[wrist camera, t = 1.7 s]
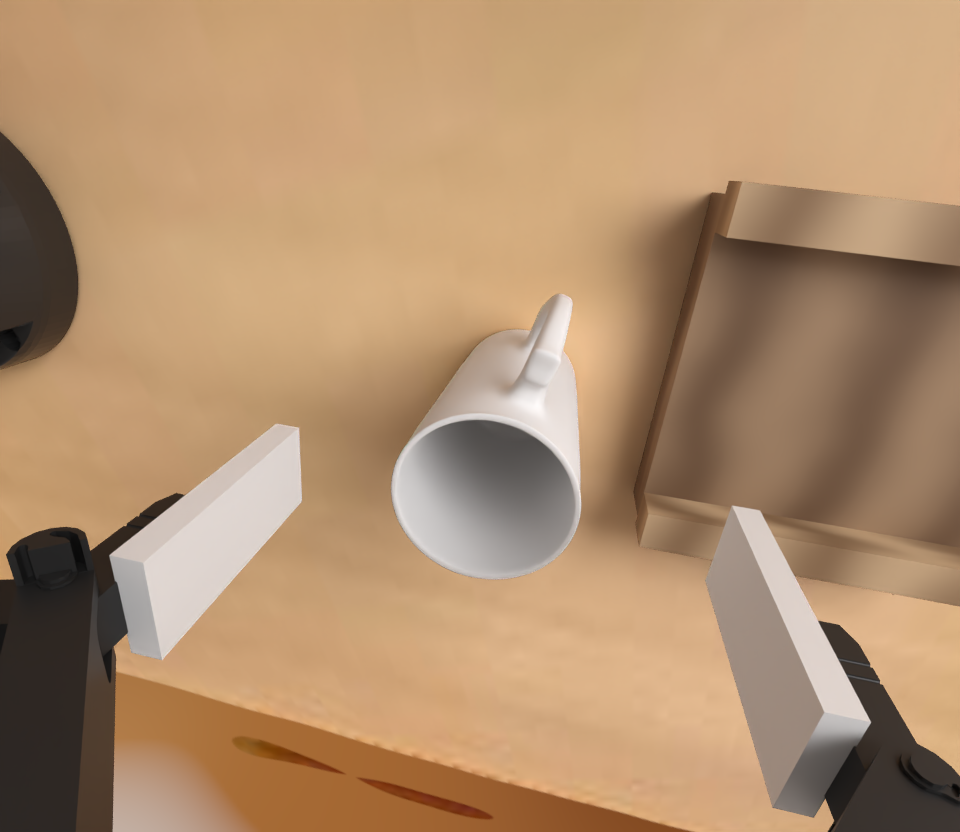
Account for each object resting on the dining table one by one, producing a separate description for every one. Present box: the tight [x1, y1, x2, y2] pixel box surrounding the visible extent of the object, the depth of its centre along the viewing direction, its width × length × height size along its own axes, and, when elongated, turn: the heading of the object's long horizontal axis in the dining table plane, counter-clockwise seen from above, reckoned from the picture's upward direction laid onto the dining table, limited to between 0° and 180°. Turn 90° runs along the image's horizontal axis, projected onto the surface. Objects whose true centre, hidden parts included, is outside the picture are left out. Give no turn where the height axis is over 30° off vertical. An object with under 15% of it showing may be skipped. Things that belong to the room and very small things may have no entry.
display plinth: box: [634, 181, 960, 606], centre depth 25 cm, size 16×17×4 cm
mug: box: [391, 294, 581, 579], centre depth 24 cm, size 10×7×12 cm, turn 159°
